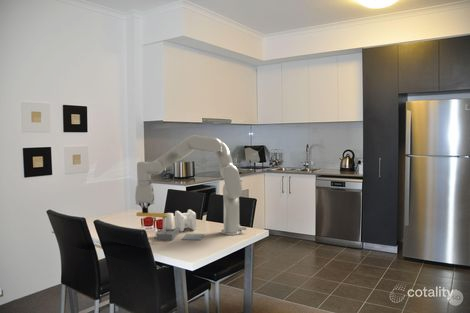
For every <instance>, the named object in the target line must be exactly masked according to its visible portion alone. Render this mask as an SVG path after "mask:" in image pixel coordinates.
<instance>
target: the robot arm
mask: <svg viewBox="0 0 470 313" xmlns="http://www.w3.org/2000/svg"><path fill="white" fill-rule="evenodd" d="M194 151H201V152H207V153H214V154H215V156H216V160H217V162H218V163H217V164H218V166H219V174H220V176H221V178H222V179H223V182H224V184H223V186H222V197H223V198H222V199H223V229H221V231H220V233H221V234H223V235H226V236H235V235H241V234H242V231H247V227H246V226H241V224H240V197H241V196H242V194H243V185H242V180H241V177H240V171H239V169H238V168H237V166H235V165H234V161H233V158H232V154H231V151H230V149H229V147H228V146H227V145H226V144H225V142H223V141H221V140H220V139H219V138H217V137H212V136H211V137H210V136H205V135H198V134H192V135H190V136H188V137H186V138H185V139H184V140H182V141H181V142H179V143H178V144H176V145H175V146H174V147H172V148H170V149H169V150H168V151H166V152H165V153H164V154H162V155H161V156H159V157H158V158H157V159H154V160H153V161H138V162H137V164H136V173H137V174H136V176H137V179H136V180H137V185H136V187H135V195H134V196H135V205H137V206H140V208H141V212H146V213H149V207H150V206H152V205H155V191H154V185H153V184H154V181H153V180H152V178H151V175H160V174H161V173H163V171H164V170H165V169H166V168H168V167H169V166H170V165H173V164H174V163H177V162H179V161H182V160H183V159H185V158H186V157H188V155H191V153H193V152H194Z"/></svg>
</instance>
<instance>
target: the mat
mask: <svg viewBox="0 0 470 313" xmlns="http://www.w3.org/2000/svg"><path fill="white" fill-rule="evenodd" d="M204 236H205V233H185V234H184V235H183V237H182V238H180V239H181V241H201V240H202V239H203V238H204Z"/></svg>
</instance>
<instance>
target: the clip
mask: <svg viewBox="0 0 470 313" xmlns="http://www.w3.org/2000/svg"><path fill="white" fill-rule="evenodd" d="M166 213H167V212H166ZM166 213H165V212H163V213H162V212H148V213H146V212H142V211H139V212H136V217H148V218H150V217H153V218H163V217H167V214H166Z"/></svg>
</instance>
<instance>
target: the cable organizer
mask: <svg viewBox="0 0 470 313" xmlns="http://www.w3.org/2000/svg"><path fill="white" fill-rule="evenodd" d="M174 227H175V228H179V233H182V232H184V230H185V229H191V230H192V231H195V230H196V229H197V213H196V212H195V211H193V210H192V209H187V212H183V213H182V212H181V211H179V210H175V212H174Z"/></svg>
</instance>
